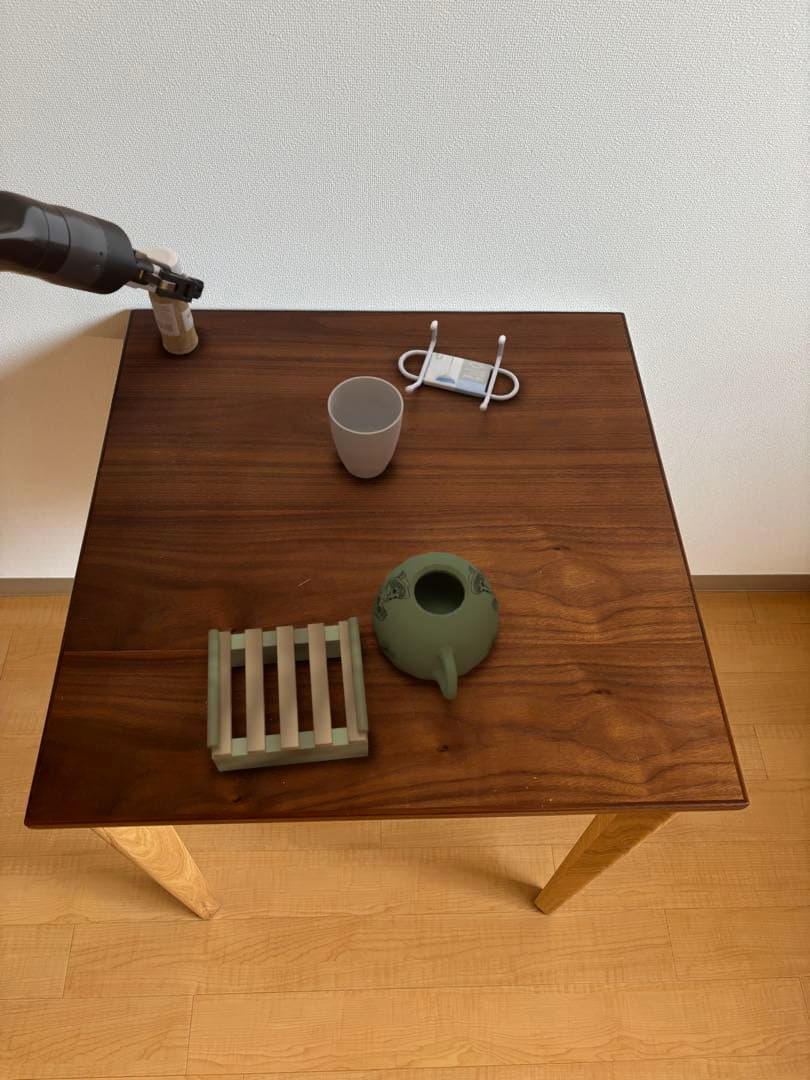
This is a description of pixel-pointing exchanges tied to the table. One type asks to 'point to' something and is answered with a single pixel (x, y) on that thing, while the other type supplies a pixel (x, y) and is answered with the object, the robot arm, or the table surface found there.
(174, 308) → the sprinkles bottle
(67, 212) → the robot arm
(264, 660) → the drying rack
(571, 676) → the table surface
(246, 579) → the table surface
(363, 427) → the cup
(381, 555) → the table surface
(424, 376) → the wall mount rack
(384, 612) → the olive green ceramic pot
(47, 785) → the table surface
